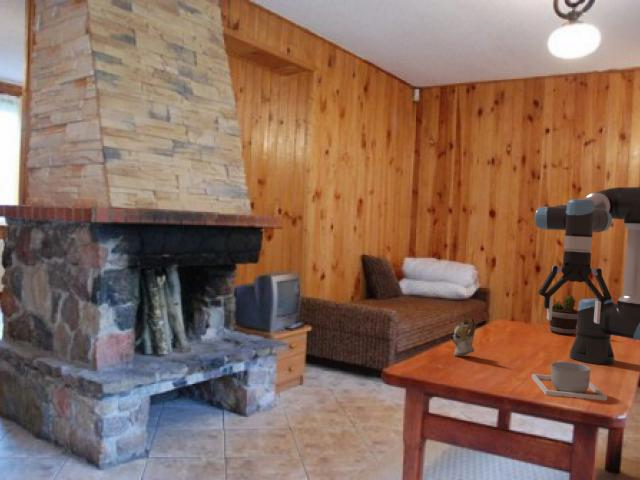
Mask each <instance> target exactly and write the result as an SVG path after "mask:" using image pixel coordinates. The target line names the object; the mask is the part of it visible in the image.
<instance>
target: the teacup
mask: <svg viewBox="0 0 640 480" xmlns="http://www.w3.org/2000/svg"><path fill="white" fill-rule="evenodd" d="M591 369H592V368H591V367H590V366H588V365H586V364H583V363H579V362H573V361H563V360H558V361H554V362H552V363H551V364H550V376H551V380H550V381H551V385H552V387H553V388H555V389H556V391H561V392H571V393H581V394H584V392H586V391H587V390H588V389H589V388H590V387H589V381H590V376H591ZM590 382H591V381H590Z"/></svg>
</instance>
